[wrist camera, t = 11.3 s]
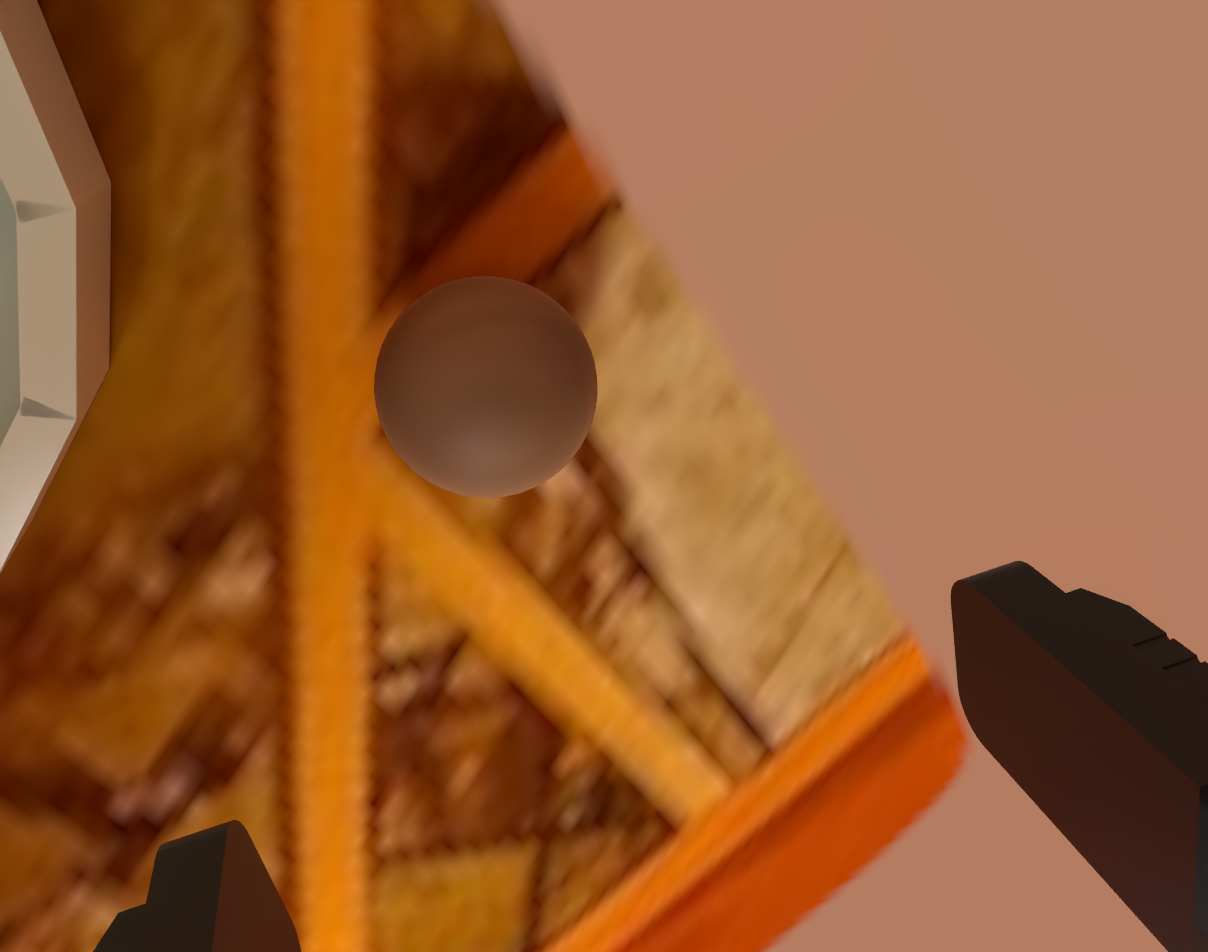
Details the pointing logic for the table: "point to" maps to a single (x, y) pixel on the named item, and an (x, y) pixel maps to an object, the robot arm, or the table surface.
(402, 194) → the table surface
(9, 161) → the tray
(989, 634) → the robot arm
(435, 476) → the walnut bead
